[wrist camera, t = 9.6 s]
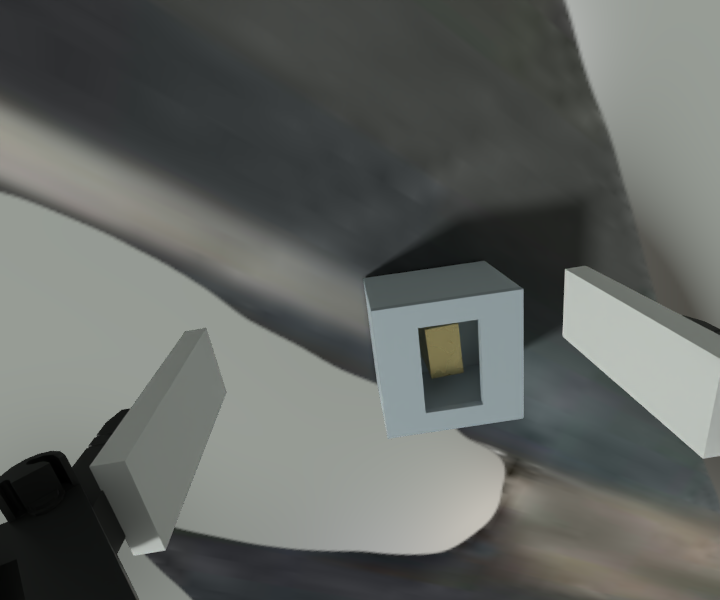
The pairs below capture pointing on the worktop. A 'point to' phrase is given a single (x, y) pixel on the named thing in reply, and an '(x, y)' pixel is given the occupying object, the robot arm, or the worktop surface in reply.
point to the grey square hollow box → (477, 337)
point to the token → (441, 349)
